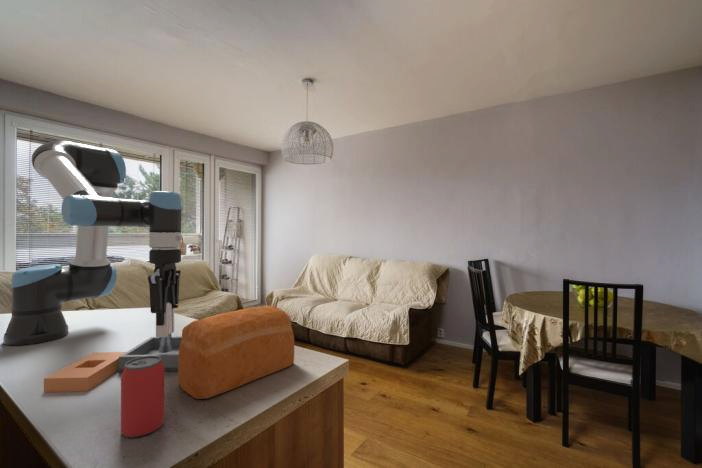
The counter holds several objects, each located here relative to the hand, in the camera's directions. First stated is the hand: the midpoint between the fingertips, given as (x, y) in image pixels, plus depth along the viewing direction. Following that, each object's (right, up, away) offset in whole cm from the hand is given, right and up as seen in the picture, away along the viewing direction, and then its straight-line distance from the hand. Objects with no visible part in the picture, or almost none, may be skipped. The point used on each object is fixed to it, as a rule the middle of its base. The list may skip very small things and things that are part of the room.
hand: (165, 334), depth 88 cm
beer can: (+13, -8, -30) cm, 34 cm away
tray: (0, -7, 0) cm, 7 cm away
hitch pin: (0, -5, 0) cm, 5 cm away
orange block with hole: (-12, -7, -10) cm, 17 cm away
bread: (+23, -8, -8) cm, 26 cm away
